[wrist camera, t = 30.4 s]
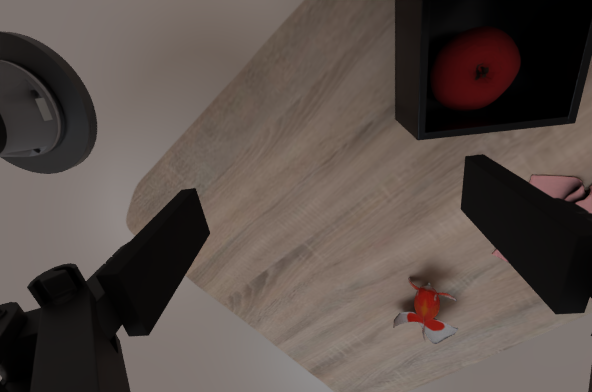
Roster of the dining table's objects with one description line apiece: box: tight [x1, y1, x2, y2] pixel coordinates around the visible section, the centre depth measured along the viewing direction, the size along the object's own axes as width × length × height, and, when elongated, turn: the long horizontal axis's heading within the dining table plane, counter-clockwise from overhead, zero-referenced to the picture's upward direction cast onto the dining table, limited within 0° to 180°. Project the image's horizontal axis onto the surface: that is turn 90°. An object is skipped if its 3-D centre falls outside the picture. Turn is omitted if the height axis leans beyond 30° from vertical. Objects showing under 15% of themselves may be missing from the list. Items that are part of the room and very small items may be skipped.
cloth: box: [492, 175, 592, 262], centre depth 47 cm, size 20×22×2 cm
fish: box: [393, 277, 458, 344], centre depth 54 cm, size 11×16×10 cm
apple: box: [430, 26, 521, 111], centre depth 35 cm, size 9×9×10 cm
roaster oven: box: [395, 0, 592, 140], centre depth 34 cm, size 18×16×12 cm
